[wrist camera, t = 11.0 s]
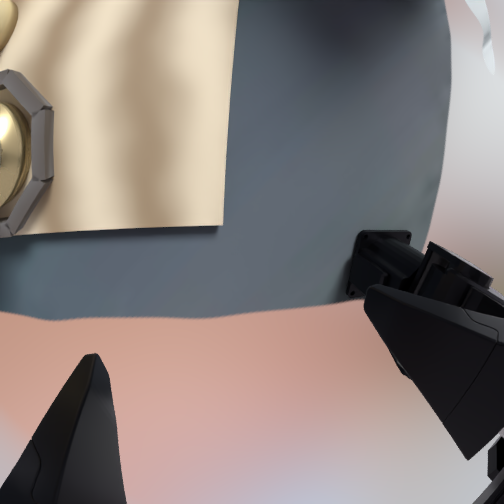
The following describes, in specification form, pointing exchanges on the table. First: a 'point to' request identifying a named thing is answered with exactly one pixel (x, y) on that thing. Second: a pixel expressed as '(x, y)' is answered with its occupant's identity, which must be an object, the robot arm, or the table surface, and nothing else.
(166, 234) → the table surface
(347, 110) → the table surface
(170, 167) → the board
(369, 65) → the table surface
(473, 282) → the robot arm
